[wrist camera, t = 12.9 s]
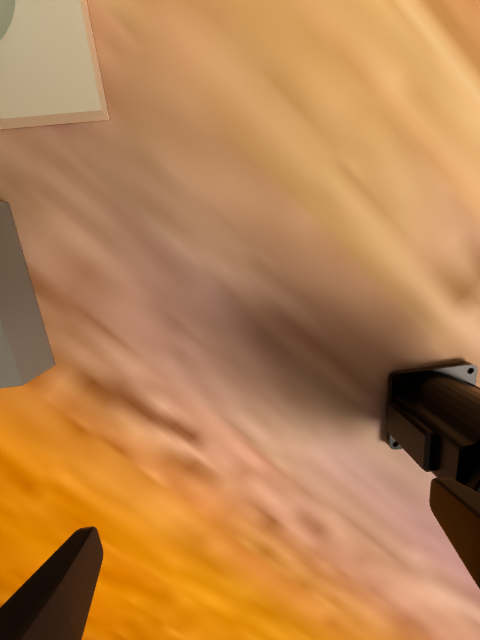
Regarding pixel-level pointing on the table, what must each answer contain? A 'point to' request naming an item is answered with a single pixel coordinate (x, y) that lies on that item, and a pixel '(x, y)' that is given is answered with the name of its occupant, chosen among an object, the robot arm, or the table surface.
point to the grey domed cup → (6, 15)
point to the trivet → (50, 66)
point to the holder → (18, 313)
